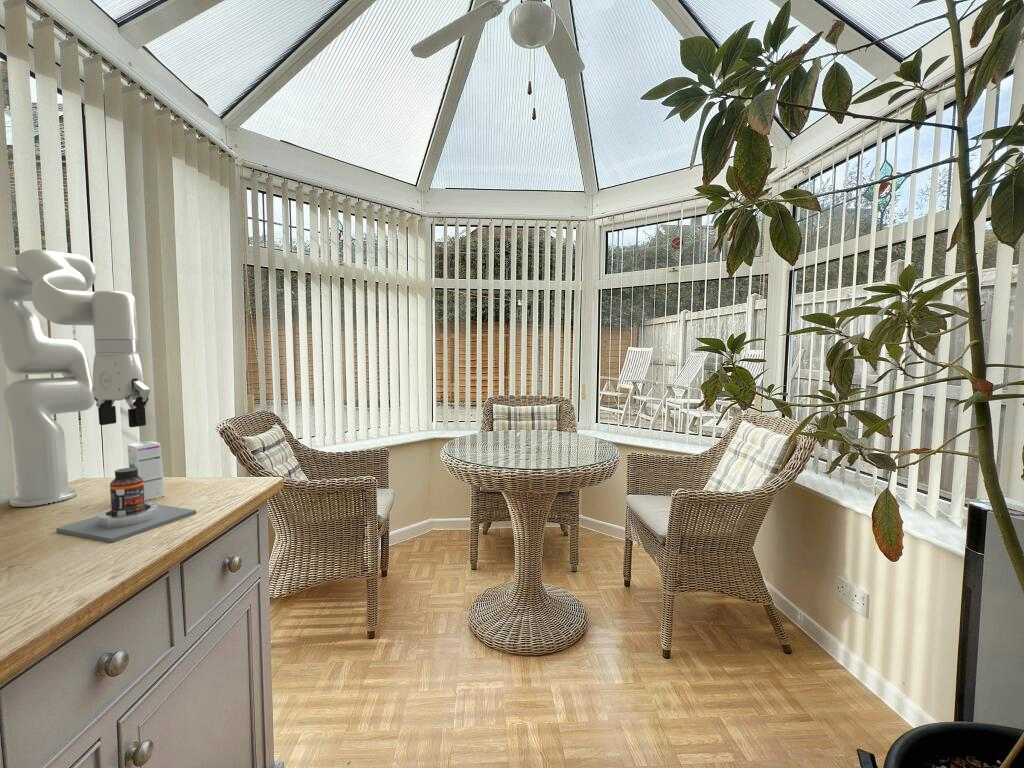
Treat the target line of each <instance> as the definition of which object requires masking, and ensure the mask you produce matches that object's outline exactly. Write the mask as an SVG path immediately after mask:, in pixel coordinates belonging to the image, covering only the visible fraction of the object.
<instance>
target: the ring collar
mask: <svg viewBox="0 0 1024 768" xmlns="http://www.w3.org/2000/svg"><path fill="white" fill-rule="evenodd" d="M157 505H158V504H157V503H155V502H148V501H147V502H145V511H143V512H139V513H136V514H131V515H125V516H113V517H112V511H111V508H108V509H106V510H103V511H102V512H100V513H99V512H98V516H99V526H102V527H108V528H109V527H123V526H128V525H134V524H139V523H142V522H145V521H148V520H151V519H153V518H155V517H156V516H158V506H157Z"/></svg>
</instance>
